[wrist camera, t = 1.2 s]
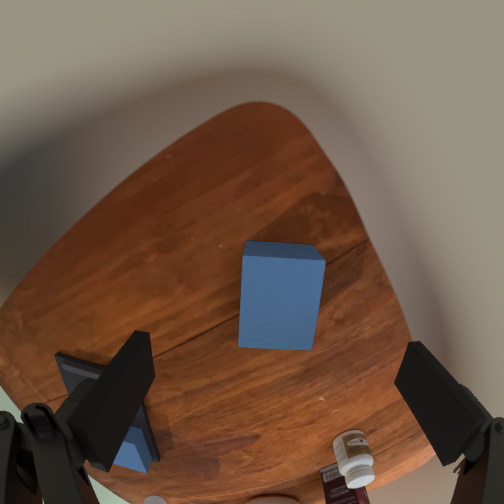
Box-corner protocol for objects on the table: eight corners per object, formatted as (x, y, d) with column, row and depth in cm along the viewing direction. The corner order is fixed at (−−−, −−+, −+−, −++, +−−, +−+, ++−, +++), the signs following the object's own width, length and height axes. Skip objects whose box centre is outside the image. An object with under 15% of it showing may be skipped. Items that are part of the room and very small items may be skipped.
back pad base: (57, 351, 27) (41, 367, 23) (137, 373, 27) (125, 394, 23) (92, 438, 31) (84, 454, 27) (160, 458, 31) (154, 476, 27)
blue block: (246, 240, 23) (242, 255, 18) (312, 244, 23) (326, 260, 18) (242, 317, 25) (238, 347, 20) (302, 320, 24) (311, 350, 20)
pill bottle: (369, 428, 28) (385, 471, 21) (354, 447, 29) (366, 488, 22) (341, 428, 28) (355, 474, 21) (326, 447, 29) (336, 491, 22)
